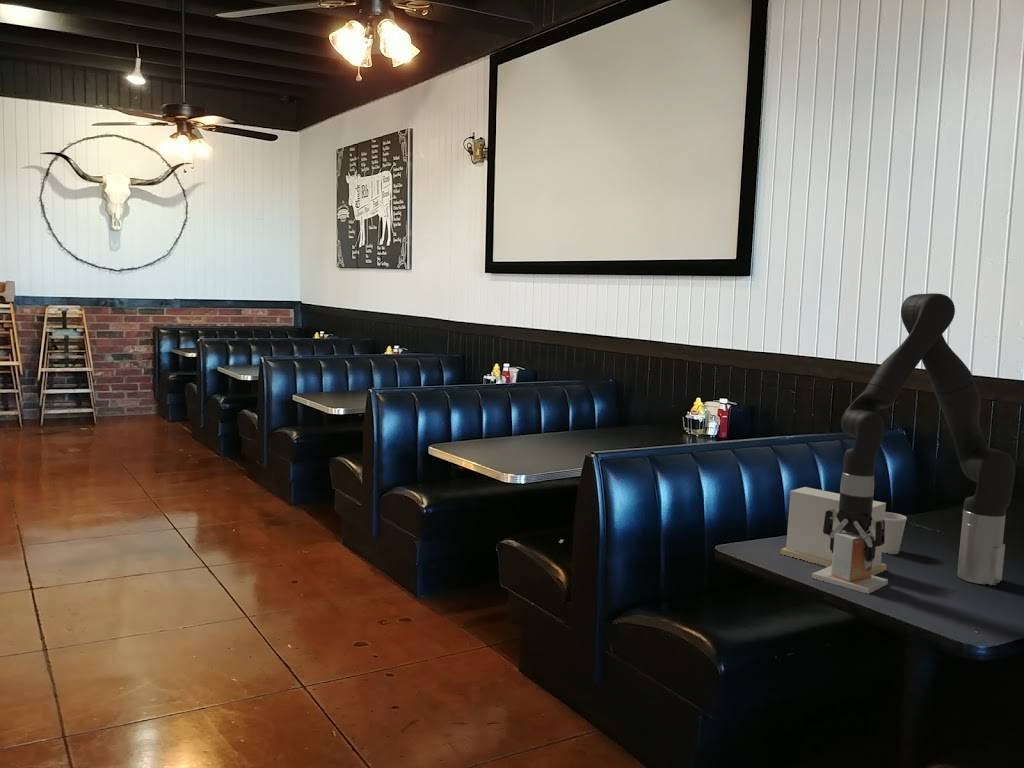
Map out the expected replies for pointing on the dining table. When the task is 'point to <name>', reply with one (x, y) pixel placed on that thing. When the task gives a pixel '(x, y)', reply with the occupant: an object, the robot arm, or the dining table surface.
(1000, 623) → the dining table surface
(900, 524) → the dixie cup
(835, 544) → the small box
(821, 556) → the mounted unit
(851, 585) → the pad
